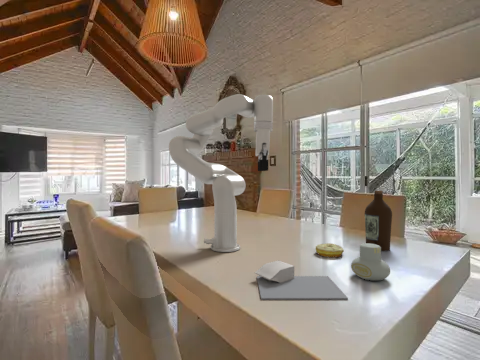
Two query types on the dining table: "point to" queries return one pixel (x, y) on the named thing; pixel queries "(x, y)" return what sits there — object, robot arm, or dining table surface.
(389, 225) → the olive oil
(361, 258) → the air freshener
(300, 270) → the dining table surface
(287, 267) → the white paper carton
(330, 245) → the decorated donut
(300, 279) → the mat
